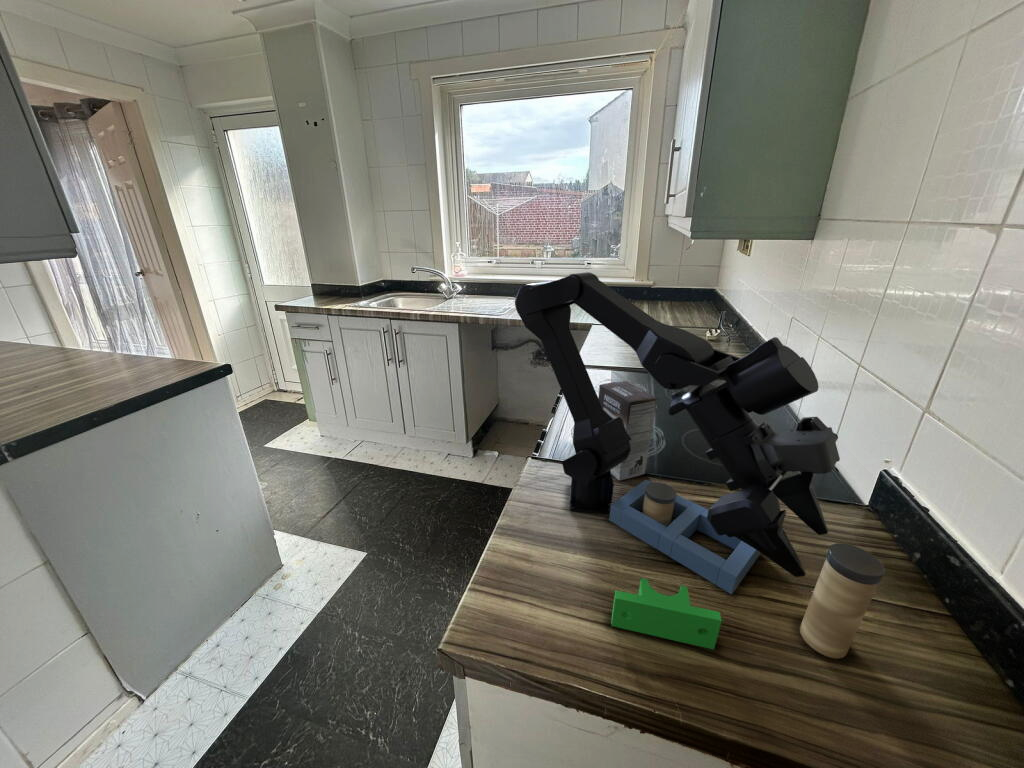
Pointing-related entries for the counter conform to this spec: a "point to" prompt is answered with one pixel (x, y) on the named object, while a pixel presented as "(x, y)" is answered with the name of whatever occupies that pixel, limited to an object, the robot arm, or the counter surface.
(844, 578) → the wooden peg
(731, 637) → the counter surface
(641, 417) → the coffee box
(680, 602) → the pipe clamp
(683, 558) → the socket block
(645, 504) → the short wooden cylinder
